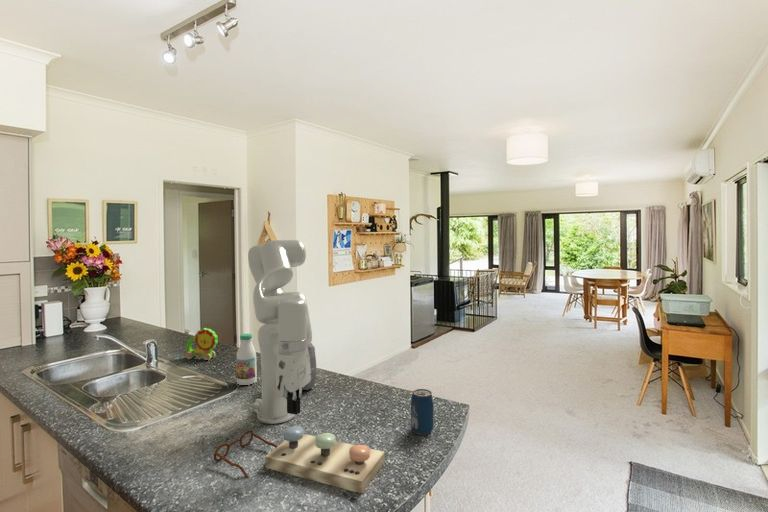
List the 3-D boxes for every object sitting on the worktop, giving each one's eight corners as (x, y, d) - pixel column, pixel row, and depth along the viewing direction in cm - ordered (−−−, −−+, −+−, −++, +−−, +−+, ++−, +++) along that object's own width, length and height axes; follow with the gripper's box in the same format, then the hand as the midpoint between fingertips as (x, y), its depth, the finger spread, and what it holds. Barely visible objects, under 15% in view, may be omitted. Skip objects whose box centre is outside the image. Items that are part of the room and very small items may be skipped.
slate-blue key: (279, 439, 109) (279, 433, 109) (291, 430, 114) (291, 424, 114) (295, 442, 107) (295, 436, 107) (306, 433, 112) (306, 428, 112)
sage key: (311, 446, 105) (311, 440, 105) (321, 437, 110) (321, 431, 110) (329, 450, 103) (328, 444, 103) (338, 440, 108) (338, 435, 108)
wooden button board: (265, 467, 106) (264, 451, 105) (296, 442, 119) (296, 427, 118) (362, 493, 95) (362, 476, 95) (384, 462, 108) (384, 447, 108)
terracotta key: (345, 459, 101) (345, 452, 101) (355, 448, 106) (355, 443, 106) (364, 463, 99) (364, 457, 99) (373, 453, 104) (373, 447, 104)
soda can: (435, 427, 128) (435, 389, 127) (430, 437, 122) (430, 398, 121) (414, 423, 130) (414, 387, 130) (408, 433, 124) (408, 395, 123)
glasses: (251, 443, 119) (251, 426, 119) (284, 455, 112) (284, 438, 112) (212, 465, 107) (212, 447, 107) (247, 480, 101) (246, 460, 101)
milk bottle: (239, 379, 169) (238, 332, 168) (258, 379, 170) (257, 332, 169) (234, 386, 162) (233, 337, 160) (254, 386, 162) (253, 336, 161)
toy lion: (184, 359, 196) (183, 328, 195) (191, 356, 201) (190, 326, 201) (213, 361, 193) (213, 330, 192) (220, 358, 198) (219, 327, 198)
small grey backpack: (320, 389, 159) (319, 338, 158) (305, 396, 152) (304, 343, 151) (292, 381, 167) (291, 333, 166) (277, 387, 160) (276, 338, 159)
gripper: (287, 353, 100) (288, 426, 101) (319, 340, 114) (320, 404, 115) (263, 351, 103) (264, 422, 104) (296, 338, 117) (297, 400, 118)
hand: (293, 412), depth 109 cm, fingers closed
